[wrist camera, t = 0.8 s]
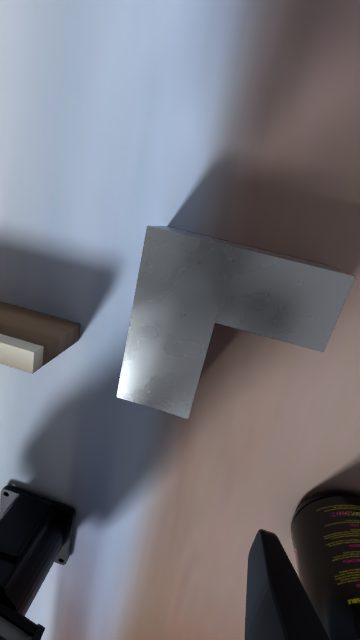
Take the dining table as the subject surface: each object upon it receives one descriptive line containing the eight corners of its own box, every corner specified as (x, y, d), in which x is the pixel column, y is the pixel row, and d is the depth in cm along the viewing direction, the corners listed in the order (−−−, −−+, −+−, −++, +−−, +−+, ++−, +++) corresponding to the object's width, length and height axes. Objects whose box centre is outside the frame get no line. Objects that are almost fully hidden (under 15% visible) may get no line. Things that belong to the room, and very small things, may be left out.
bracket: (273, 404, 19) (283, 448, 15) (139, 365, 20) (116, 396, 16) (327, 265, 16) (355, 276, 12) (167, 226, 17) (147, 225, 13)
